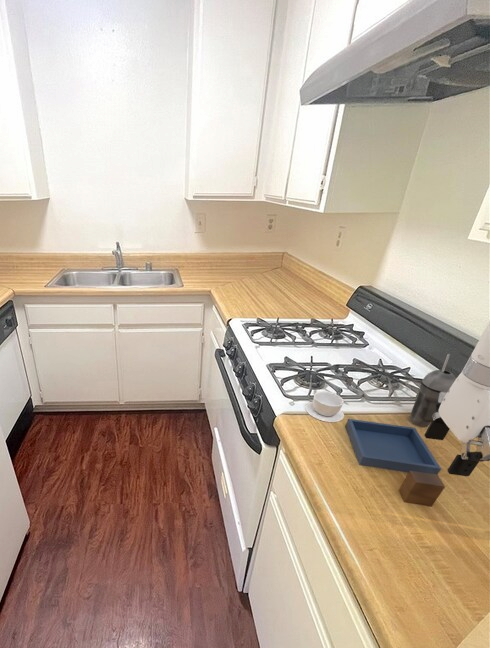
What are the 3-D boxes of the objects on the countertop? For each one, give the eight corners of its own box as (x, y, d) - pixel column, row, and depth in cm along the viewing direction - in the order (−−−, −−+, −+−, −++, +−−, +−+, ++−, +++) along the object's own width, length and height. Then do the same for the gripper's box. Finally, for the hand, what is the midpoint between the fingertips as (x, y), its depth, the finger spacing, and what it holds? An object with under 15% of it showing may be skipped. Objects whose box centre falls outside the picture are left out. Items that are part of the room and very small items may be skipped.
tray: (410, 436, 87) (415, 427, 85) (435, 477, 75) (441, 468, 73) (344, 427, 89) (348, 418, 88) (358, 466, 77) (363, 456, 76)
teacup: (335, 428, 89) (341, 413, 86) (298, 412, 94) (303, 398, 92) (348, 412, 95) (354, 398, 92) (313, 398, 101) (318, 384, 98)
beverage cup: (438, 434, 88) (479, 364, 77) (405, 428, 90) (441, 358, 79) (429, 418, 94) (467, 351, 83) (399, 412, 96) (432, 346, 84)
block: (424, 495, 71) (437, 474, 67) (430, 508, 68) (445, 486, 65) (397, 491, 71) (409, 470, 68) (403, 503, 69) (416, 482, 66)
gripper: (563, 406, 46) (494, 494, 55) (491, 351, 60) (445, 429, 70) (499, 400, 47) (442, 486, 57) (442, 347, 61) (405, 424, 71)
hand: (444, 455), depth 63 cm, fingers open, 9 cm apart
